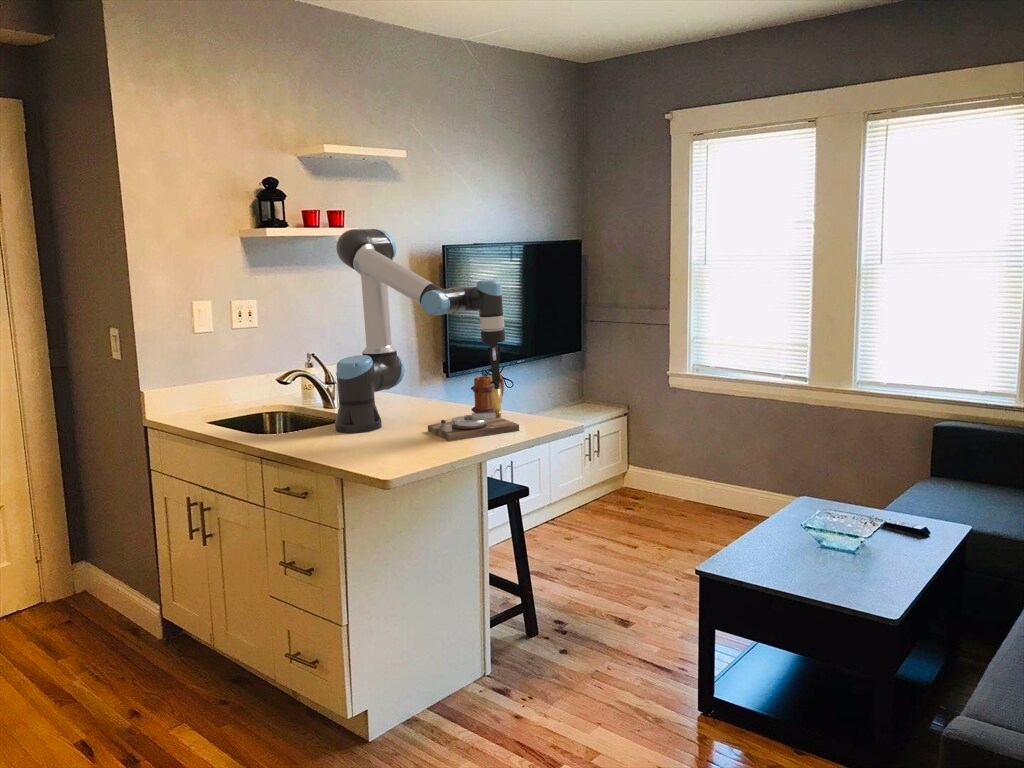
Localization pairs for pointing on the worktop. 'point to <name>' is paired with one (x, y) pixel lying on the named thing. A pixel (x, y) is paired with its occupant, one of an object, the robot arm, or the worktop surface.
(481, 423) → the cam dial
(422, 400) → the worktop surface
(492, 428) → the stand
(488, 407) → the mug
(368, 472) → the worktop surface
